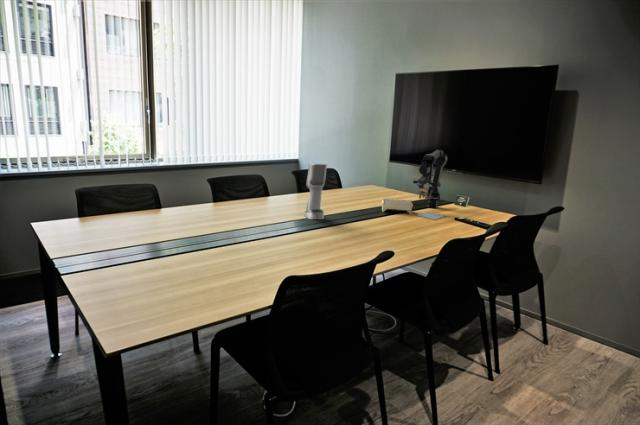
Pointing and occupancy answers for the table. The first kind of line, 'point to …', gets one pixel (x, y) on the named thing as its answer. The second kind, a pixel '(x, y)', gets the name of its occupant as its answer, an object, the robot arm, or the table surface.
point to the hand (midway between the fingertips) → (425, 195)
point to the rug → (431, 215)
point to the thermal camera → (315, 190)
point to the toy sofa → (397, 204)
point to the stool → (424, 193)
